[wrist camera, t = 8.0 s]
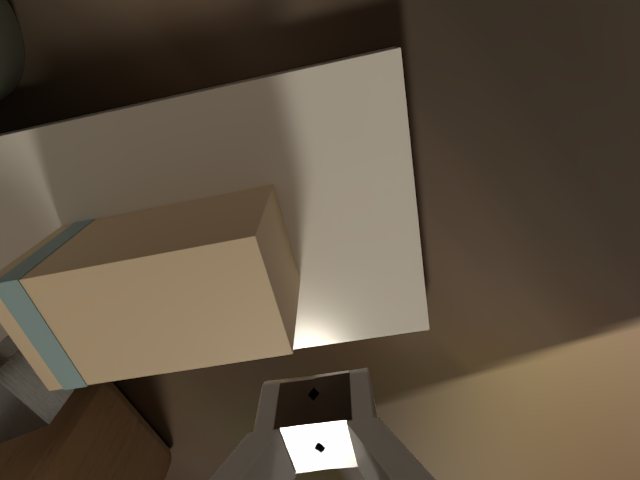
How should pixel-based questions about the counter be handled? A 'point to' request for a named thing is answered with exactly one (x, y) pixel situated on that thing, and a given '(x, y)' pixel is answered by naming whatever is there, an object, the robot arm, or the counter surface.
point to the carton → (155, 291)
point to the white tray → (252, 181)
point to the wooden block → (88, 442)
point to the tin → (24, 395)
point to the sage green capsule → (10, 50)
